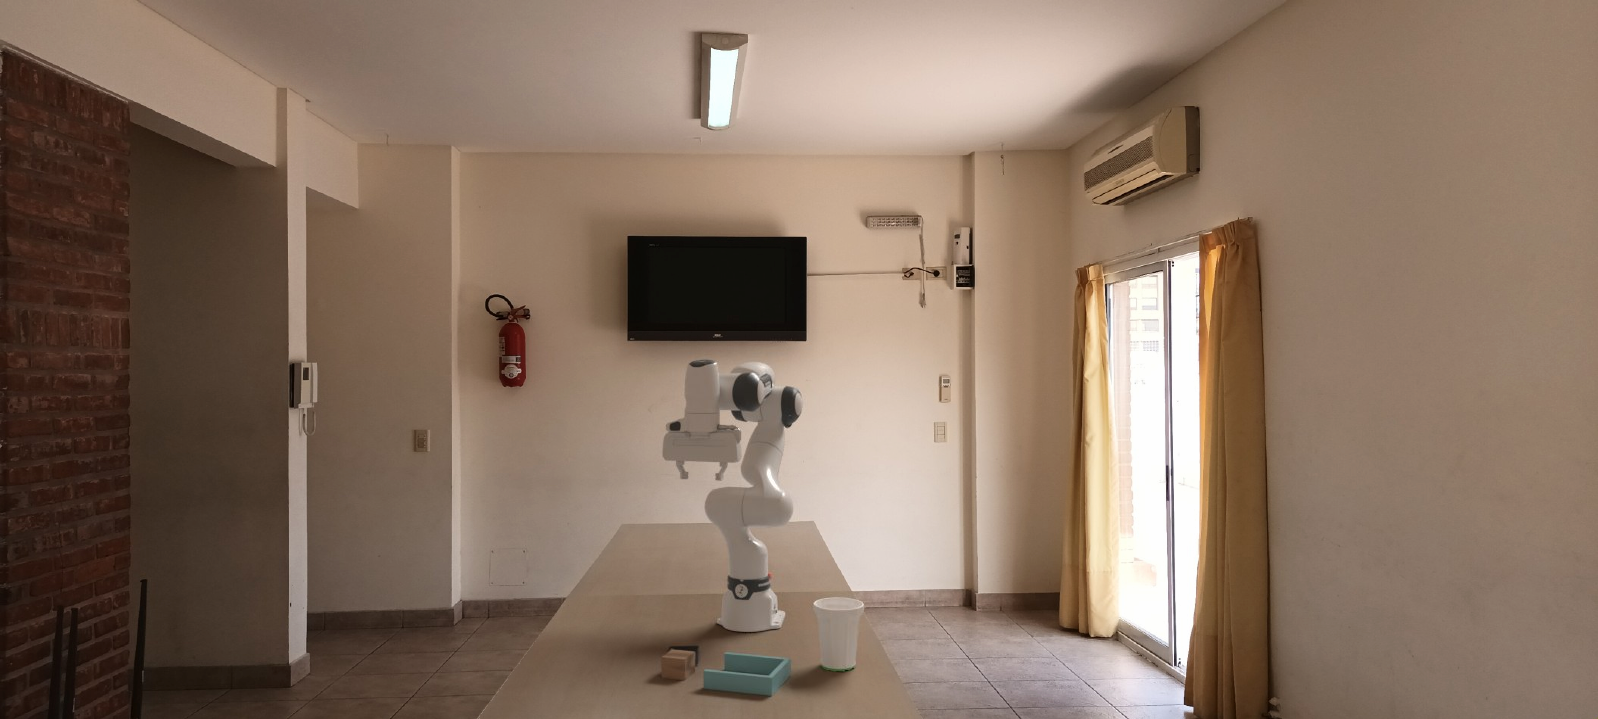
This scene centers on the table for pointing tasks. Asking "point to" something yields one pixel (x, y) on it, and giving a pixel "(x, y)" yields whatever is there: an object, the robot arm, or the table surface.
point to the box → (749, 682)
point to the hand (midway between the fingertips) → (701, 479)
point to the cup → (838, 631)
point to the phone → (688, 648)
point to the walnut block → (678, 664)
